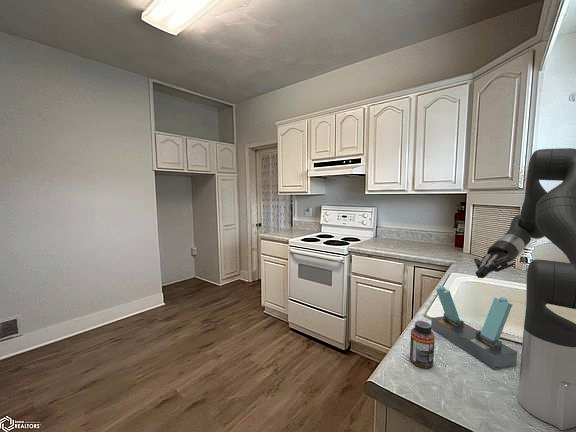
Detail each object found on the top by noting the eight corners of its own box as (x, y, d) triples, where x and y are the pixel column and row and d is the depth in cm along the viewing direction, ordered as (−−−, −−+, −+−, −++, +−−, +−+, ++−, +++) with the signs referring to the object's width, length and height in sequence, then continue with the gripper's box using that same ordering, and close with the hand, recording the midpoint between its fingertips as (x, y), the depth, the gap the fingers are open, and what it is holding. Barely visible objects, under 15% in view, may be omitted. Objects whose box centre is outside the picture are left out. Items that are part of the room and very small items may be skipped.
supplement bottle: (412, 353, 77) (414, 316, 76) (435, 361, 73) (437, 323, 72) (407, 363, 72) (408, 324, 71) (430, 372, 68) (433, 331, 68)
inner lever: (496, 346, 73) (514, 301, 74) (491, 345, 73) (509, 299, 73) (483, 339, 77) (499, 296, 77) (478, 337, 77) (495, 294, 77)
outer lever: (461, 323, 85) (449, 287, 83) (456, 326, 85) (444, 290, 82) (451, 317, 89) (439, 283, 87) (446, 320, 89) (434, 286, 86)
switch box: (516, 365, 72) (517, 344, 71) (493, 369, 70) (495, 347, 69) (449, 326, 93) (450, 309, 92) (431, 328, 91) (432, 311, 91)
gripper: (482, 241, 98) (455, 266, 92) (521, 238, 85) (493, 266, 79) (492, 258, 98) (466, 284, 92) (533, 257, 85) (506, 287, 79)
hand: (479, 275), depth 86 cm, fingers closed
